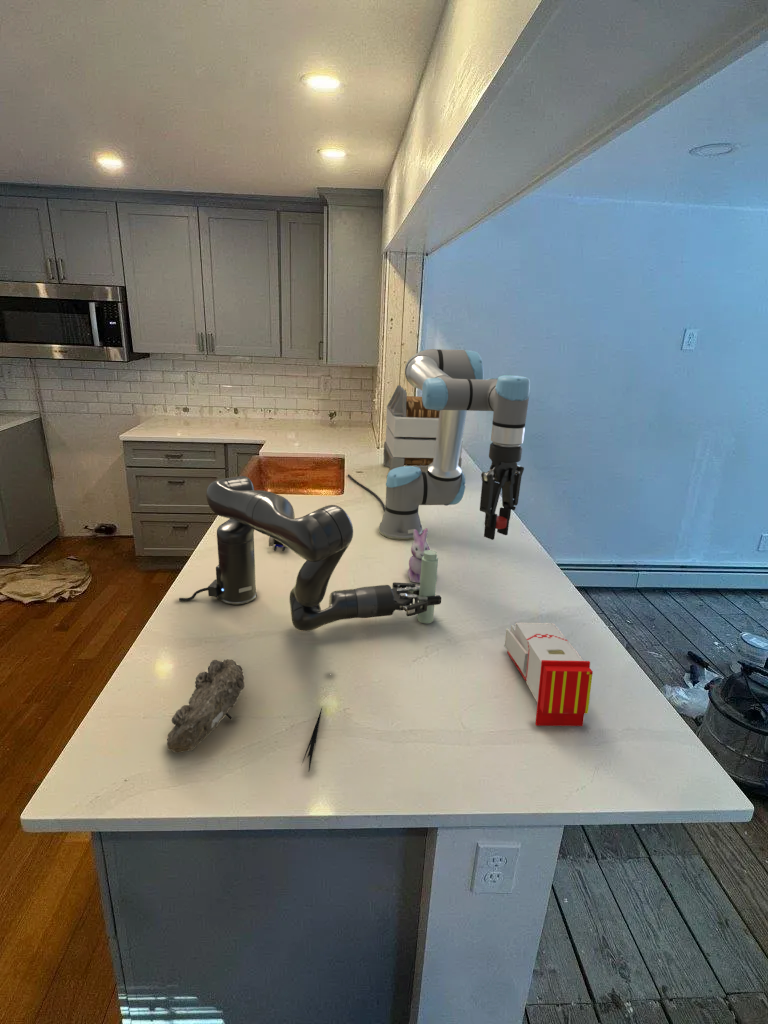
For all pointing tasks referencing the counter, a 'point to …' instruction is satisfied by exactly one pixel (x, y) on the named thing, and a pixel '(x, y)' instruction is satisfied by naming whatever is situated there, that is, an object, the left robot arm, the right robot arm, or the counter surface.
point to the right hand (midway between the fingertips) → (495, 535)
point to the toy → (551, 672)
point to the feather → (313, 740)
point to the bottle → (428, 583)
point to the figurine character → (276, 544)
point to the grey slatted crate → (410, 432)
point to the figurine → (417, 555)
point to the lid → (501, 522)
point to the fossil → (206, 705)
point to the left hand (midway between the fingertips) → (437, 595)
